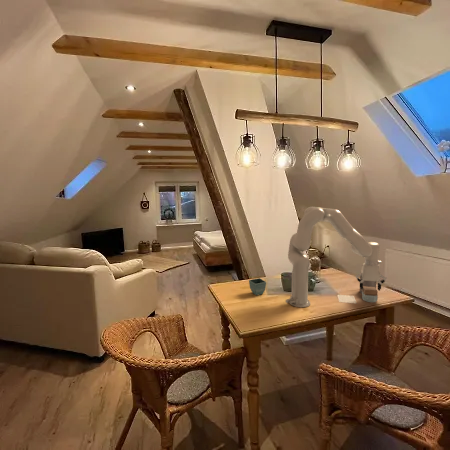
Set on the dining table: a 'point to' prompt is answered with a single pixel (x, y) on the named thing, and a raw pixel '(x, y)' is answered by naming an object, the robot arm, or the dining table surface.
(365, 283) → the pillar candle
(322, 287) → the dining table surface
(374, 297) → the bowl
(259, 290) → the flower pot
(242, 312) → the dining table surface
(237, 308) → the dining table surface
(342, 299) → the mat
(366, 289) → the board
